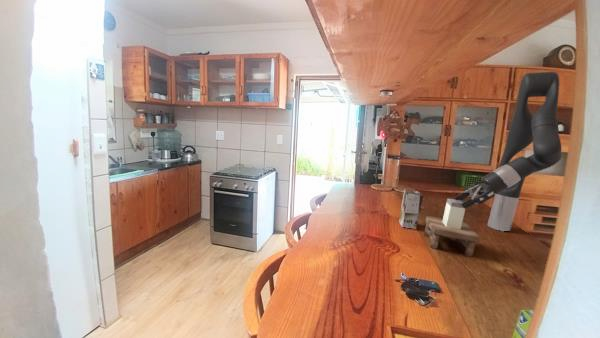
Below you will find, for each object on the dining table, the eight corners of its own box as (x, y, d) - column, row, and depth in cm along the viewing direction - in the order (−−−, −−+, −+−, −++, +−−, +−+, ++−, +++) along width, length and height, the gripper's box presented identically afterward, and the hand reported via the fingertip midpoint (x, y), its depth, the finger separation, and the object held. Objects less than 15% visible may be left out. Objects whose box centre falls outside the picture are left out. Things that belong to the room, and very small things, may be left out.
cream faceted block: (442, 221, 106) (447, 198, 104) (455, 224, 105) (461, 200, 103) (446, 226, 100) (451, 202, 99) (460, 229, 99) (466, 204, 97)
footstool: (422, 233, 113) (426, 215, 111) (460, 240, 109) (465, 222, 108) (430, 248, 98) (434, 228, 97) (474, 257, 95) (479, 237, 93)
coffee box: (416, 230, 115) (423, 195, 112) (401, 227, 116) (408, 193, 114) (412, 223, 124) (418, 190, 121) (398, 220, 125) (404, 188, 122)
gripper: (486, 168, 103) (448, 191, 107) (503, 174, 89) (459, 200, 94) (498, 183, 102) (459, 205, 107) (517, 192, 89) (472, 217, 94)
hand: (459, 203), depth 101 cm, fingers open, 8 cm apart
